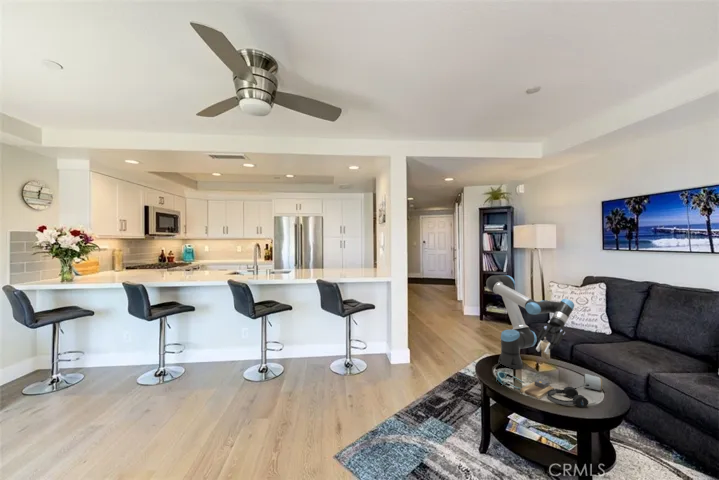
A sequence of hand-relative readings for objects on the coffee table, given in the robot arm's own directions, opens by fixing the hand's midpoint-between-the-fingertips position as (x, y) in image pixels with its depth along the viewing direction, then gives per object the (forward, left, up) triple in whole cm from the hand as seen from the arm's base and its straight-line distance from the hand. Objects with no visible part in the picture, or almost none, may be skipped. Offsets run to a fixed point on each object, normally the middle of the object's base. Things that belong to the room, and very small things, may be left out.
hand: (541, 351), depth 177 cm
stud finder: (+1, -3, -19) cm, 19 cm away
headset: (+16, -7, -21) cm, 27 cm away
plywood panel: (+1, -9, -20) cm, 22 cm away
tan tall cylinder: (+1, +4, -4) cm, 6 cm away
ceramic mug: (+18, +22, -21) cm, 35 cm away
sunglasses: (-13, -12, -21) cm, 27 cm away
